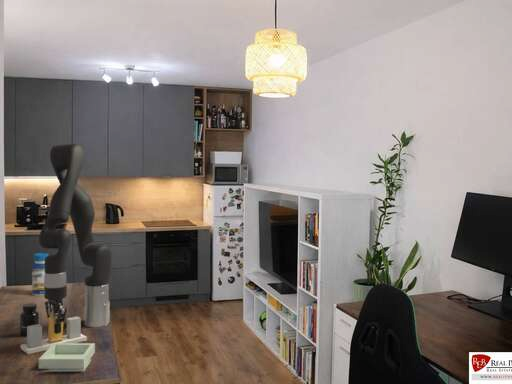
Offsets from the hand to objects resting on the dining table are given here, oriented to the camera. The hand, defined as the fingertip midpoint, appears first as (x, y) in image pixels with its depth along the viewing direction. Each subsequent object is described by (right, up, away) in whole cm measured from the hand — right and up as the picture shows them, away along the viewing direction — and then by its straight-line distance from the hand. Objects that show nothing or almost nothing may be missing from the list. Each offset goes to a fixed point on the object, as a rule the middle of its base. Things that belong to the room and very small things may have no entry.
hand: (55, 331), depth 180 cm
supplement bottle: (-14, -5, +11) cm, 18 cm away
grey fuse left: (-6, -5, -5) cm, 9 cm away
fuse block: (0, -6, 0) cm, 6 cm away
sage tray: (+9, -7, -14) cm, 18 cm away
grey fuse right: (+5, -4, +5) cm, 8 cm away
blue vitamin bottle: (-35, -1, +70) cm, 79 cm away
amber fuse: (0, -3, 0) cm, 3 cm away
